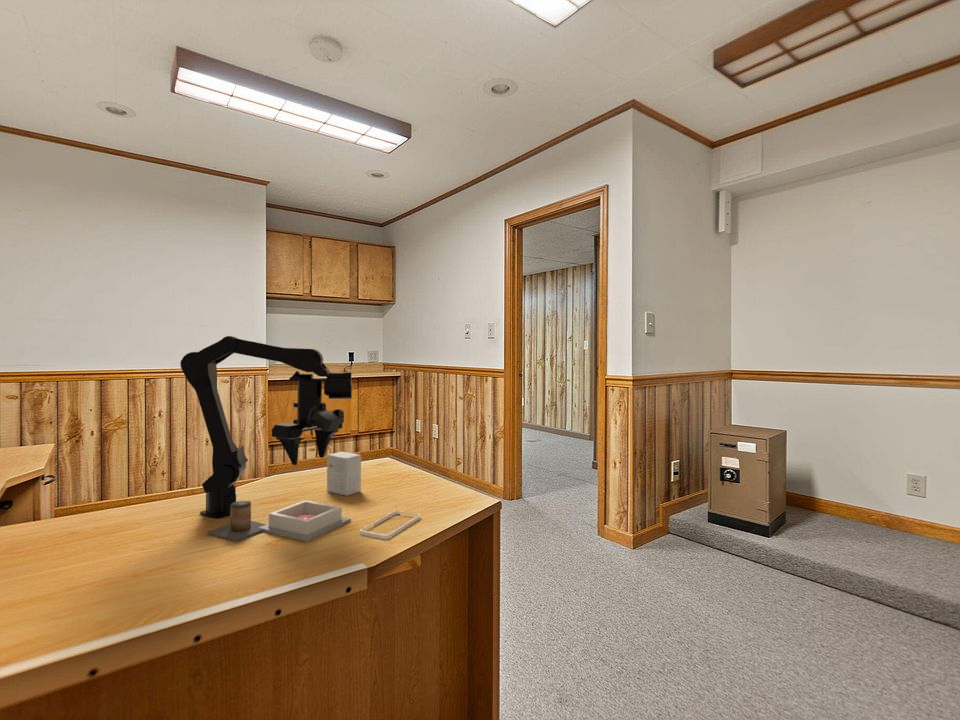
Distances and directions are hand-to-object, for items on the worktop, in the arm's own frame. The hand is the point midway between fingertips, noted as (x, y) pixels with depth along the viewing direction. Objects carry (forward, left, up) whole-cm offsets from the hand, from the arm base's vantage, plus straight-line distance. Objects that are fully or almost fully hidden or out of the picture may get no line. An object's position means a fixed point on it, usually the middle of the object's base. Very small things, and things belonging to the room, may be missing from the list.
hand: (308, 461), depth 121 cm
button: (+8, -9, -12) cm, 17 cm away
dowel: (-2, -18, -12) cm, 21 cm away
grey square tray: (+8, -9, -12) cm, 17 cm away
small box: (-2, +16, -12) cm, 20 cm away
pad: (-2, -18, -12) cm, 22 cm away
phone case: (+25, 0, -13) cm, 28 cm away
